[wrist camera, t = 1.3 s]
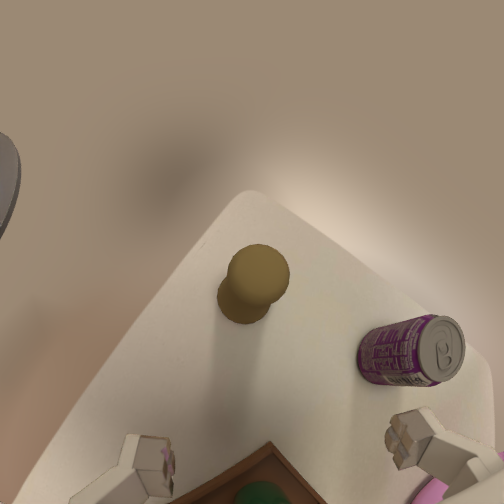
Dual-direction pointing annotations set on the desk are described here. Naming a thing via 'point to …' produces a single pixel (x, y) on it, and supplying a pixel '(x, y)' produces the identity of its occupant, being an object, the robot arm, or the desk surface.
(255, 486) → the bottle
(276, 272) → the cork
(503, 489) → the robot arm
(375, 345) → the beverage can
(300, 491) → the tray
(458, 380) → the desk surface
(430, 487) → the teapot
